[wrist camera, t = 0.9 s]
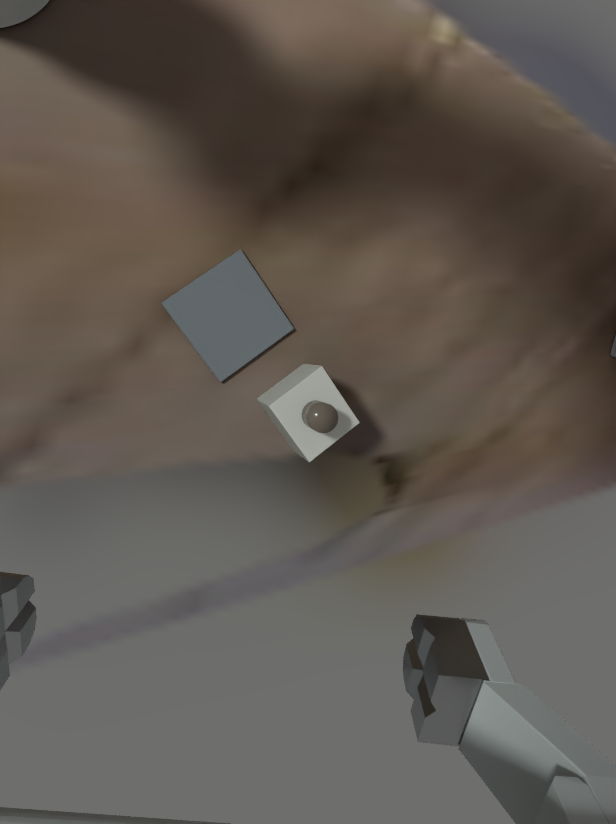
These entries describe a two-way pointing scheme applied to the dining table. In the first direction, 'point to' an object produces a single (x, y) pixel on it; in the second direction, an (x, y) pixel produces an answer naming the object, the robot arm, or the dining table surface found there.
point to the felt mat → (228, 315)
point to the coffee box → (613, 349)
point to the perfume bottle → (308, 410)
